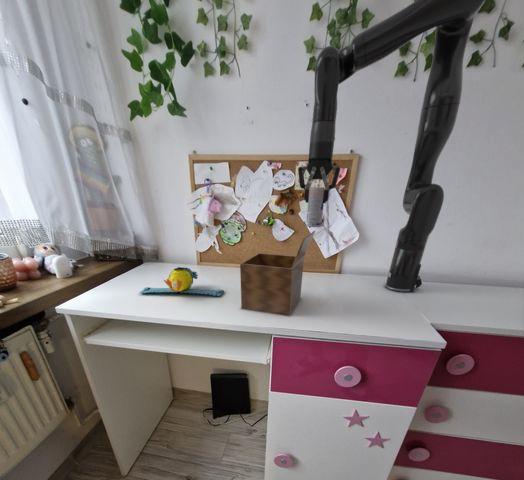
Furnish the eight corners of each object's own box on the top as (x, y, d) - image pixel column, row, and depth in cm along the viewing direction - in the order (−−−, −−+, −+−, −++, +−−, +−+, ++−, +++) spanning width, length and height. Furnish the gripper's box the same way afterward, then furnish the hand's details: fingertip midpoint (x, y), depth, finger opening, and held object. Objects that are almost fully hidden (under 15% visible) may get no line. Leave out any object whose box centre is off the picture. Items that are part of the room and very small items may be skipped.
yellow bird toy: (127, 271, 85) (148, 261, 98) (134, 298, 90) (153, 284, 103) (215, 274, 84) (225, 263, 97) (218, 301, 88) (226, 287, 101)
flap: (303, 254, 84) (304, 255, 84) (291, 266, 72) (293, 266, 72) (314, 230, 79) (315, 231, 79) (303, 238, 67) (304, 239, 67)
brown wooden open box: (300, 298, 91) (303, 257, 84) (288, 315, 79) (292, 269, 72) (258, 293, 95) (258, 253, 88) (241, 308, 83) (239, 263, 76)
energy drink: (322, 225, 99) (326, 187, 93) (319, 227, 95) (324, 187, 89) (307, 225, 101) (311, 187, 95) (304, 226, 97) (307, 187, 90)
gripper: (296, 140, 84) (292, 202, 93) (344, 139, 80) (335, 204, 89) (302, 143, 90) (298, 201, 99) (346, 142, 86) (338, 203, 95)
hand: (315, 202), depth 94 cm, fingers closed on energy drink, 5 cm apart
